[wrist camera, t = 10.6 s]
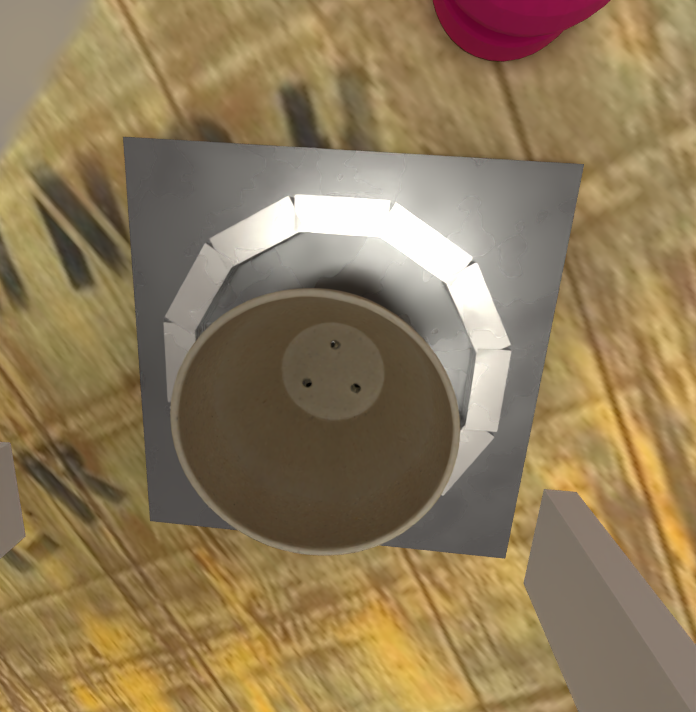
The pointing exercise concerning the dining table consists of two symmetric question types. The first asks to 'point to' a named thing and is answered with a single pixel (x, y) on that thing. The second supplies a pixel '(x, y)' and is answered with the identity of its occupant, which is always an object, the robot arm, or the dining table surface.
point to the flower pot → (315, 421)
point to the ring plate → (358, 289)
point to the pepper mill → (510, 24)
